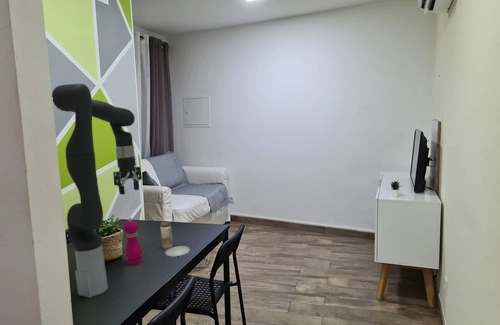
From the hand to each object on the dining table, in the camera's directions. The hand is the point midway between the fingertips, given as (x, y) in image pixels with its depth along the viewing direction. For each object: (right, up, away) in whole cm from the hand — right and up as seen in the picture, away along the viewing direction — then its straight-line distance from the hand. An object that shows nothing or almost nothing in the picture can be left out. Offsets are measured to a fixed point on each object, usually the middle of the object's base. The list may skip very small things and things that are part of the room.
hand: (129, 192), depth 157 cm
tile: (+20, -28, +6) cm, 35 cm away
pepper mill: (+3, -31, -2) cm, 31 cm away
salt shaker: (+14, -28, +14) cm, 34 cm away
